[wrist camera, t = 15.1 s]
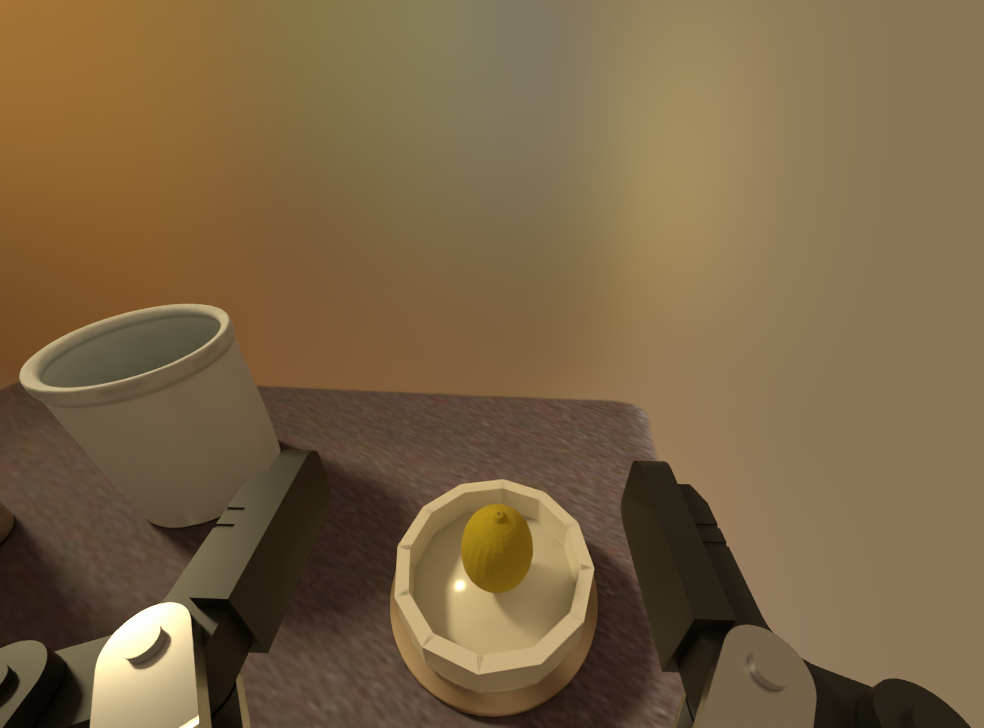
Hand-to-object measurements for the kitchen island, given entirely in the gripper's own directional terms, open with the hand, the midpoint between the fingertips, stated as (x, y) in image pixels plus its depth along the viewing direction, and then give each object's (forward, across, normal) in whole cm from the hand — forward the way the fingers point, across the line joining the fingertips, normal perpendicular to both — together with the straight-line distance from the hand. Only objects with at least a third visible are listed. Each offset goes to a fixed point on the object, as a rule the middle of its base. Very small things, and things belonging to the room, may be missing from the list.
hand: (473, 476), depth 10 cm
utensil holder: (+22, +31, +27) cm, 47 cm away
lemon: (+10, 0, +25) cm, 27 cm away
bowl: (+10, 0, +26) cm, 28 cm away
